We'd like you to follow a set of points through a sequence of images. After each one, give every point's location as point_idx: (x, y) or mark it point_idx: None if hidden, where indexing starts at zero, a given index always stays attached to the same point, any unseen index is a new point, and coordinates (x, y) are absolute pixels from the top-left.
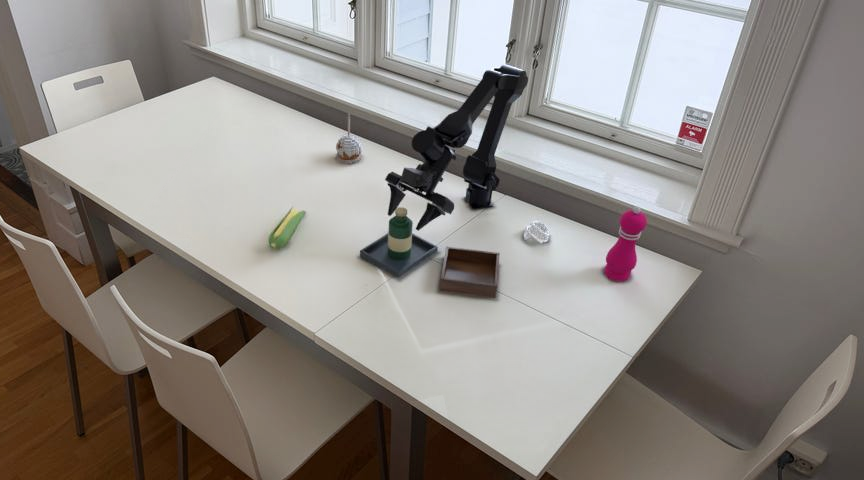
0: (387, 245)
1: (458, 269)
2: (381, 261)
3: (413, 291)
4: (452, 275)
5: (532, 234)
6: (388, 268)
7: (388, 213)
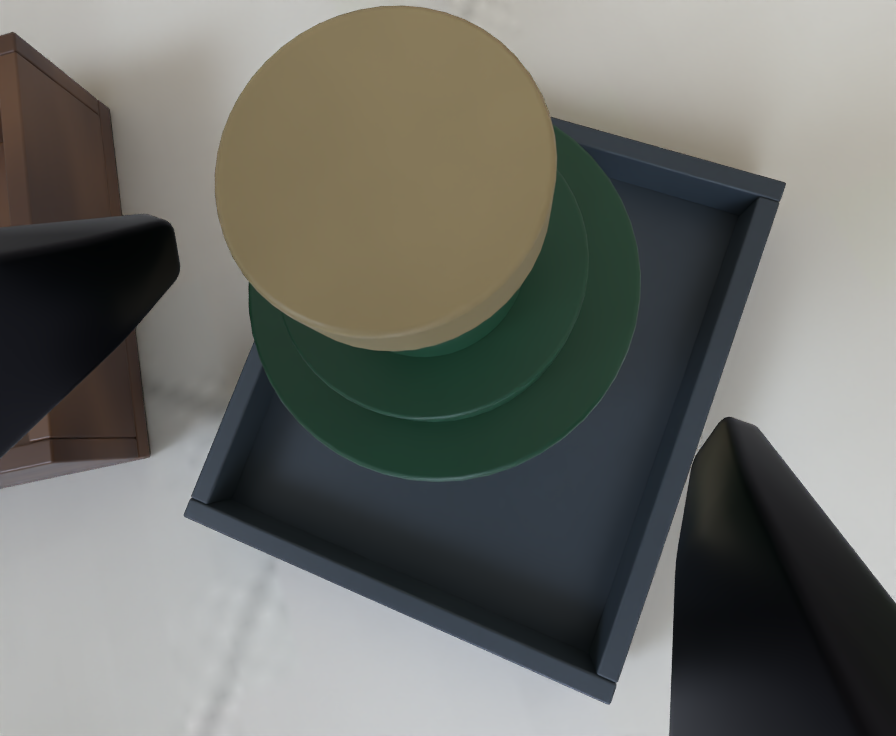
0: (607, 422)
1: None
2: None
3: (256, 44)
4: None
5: None
6: None
7: (746, 425)
